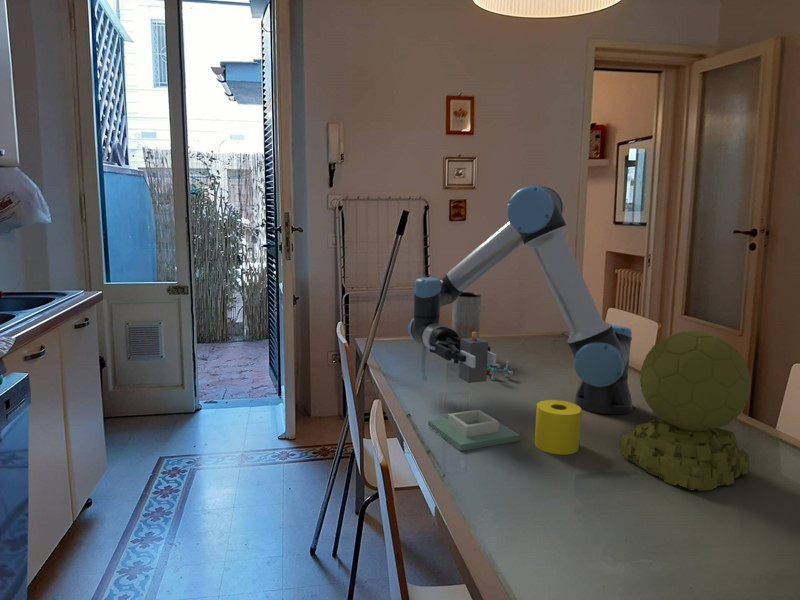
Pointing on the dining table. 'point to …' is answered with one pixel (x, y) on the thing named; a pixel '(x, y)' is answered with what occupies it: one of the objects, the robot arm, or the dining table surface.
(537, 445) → the yellow hollow cylinder
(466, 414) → the board
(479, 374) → the plug
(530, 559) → the dining table surface
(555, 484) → the dining table surface
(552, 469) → the dining table surface
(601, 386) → the robot arm
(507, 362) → the molecular model
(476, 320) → the planter
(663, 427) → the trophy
